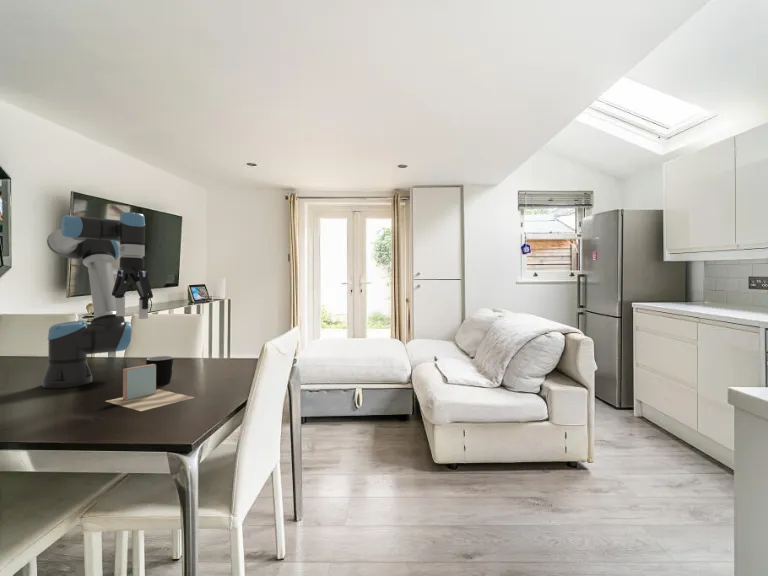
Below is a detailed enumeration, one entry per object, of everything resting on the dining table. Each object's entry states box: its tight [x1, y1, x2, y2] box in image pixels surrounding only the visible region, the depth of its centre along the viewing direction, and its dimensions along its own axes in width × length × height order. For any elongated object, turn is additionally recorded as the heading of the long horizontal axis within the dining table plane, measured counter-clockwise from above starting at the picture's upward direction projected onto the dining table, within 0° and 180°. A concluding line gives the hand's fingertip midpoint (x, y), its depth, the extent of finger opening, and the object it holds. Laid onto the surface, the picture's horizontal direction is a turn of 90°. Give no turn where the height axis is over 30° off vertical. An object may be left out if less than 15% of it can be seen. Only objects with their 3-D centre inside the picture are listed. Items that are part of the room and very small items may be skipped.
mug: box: [145, 355, 174, 386], centre depth 162 cm, size 12×9×10 cm
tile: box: [122, 364, 157, 400], centre depth 142 cm, size 2×10×10 cm, turn 150°
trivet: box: [104, 389, 196, 412], centre depth 139 cm, size 20×18×1 cm
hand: (131, 317), depth 151 cm, fingers open, 13 cm apart
